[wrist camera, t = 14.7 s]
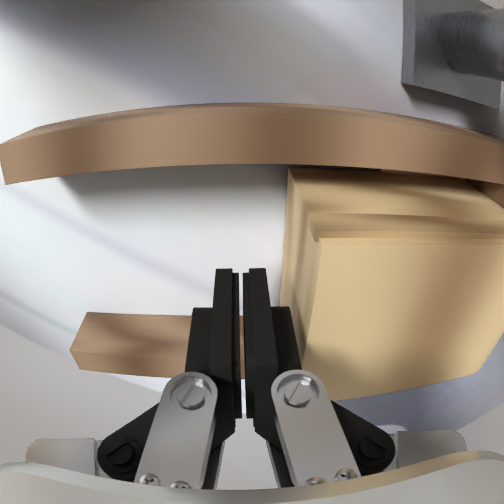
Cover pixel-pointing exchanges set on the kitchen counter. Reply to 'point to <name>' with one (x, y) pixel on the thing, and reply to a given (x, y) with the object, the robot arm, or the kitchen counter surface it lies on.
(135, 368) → the bay
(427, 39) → the winch post
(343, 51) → the kitchen counter surface
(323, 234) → the tan wooden block
